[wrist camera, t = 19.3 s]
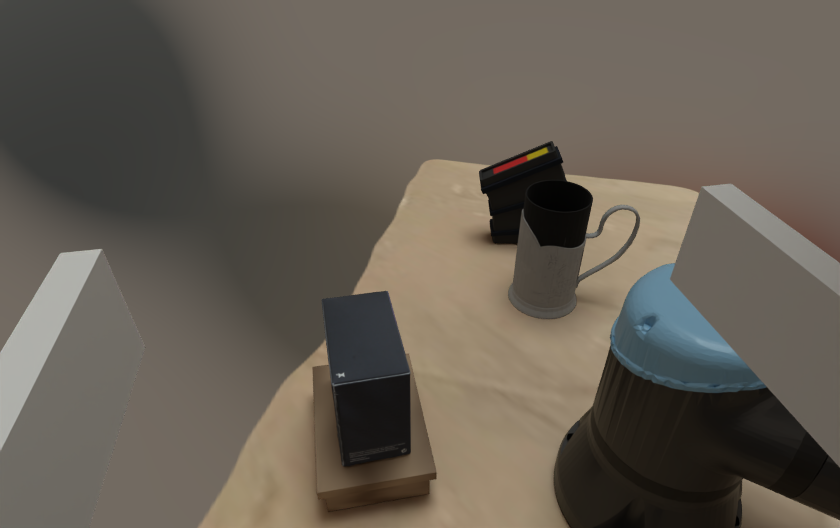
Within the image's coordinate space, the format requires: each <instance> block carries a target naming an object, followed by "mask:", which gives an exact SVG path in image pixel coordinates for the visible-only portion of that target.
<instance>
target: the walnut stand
mask: <svg viewBox="0 0 840 528" xmlns="http://www.w3.org/2000/svg"><path fill="white" fill-rule="evenodd" d="M406 358H407V361H408V365H409V368H410V373H411V374H410V394H411V453H410V454H406V455H402V456H398V457H394V458H386V459H381V460H376V461H370V462H365V463H361V464H355V465H352V466H346V467H344V466H342V462H341V454H340V447H339V441H338V436H337V434H338V432H337V427H336V425H337V424H336V416H335V408H334V400H333V394H332V386H331V378H330V369H329V365H324V366H316V367H313V392H314V420H315V449H316V477H317V495H318V499H326V504H327V508H328V512H330V511H335V510H341V509H346V508H352V507H358V506H363V505H369V504H374V503H380V502H385V501H391V500H397V499H402V498H408V497H413V496H419V495H424V494H429V480H433V479H436V468H435V464H434V460H433V455H432V451H431V447H430V442H429V438H428V434H427V430H426V425H425V421H424V417H423V412H422V408H421V404H420V400H419V395H418V391H417V387H416V382H415V378H414V374H413V370H412V365H411V361H410V357H409V354H406Z"/></svg>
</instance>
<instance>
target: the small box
mask: <svg viewBox="0 0 840 528" xmlns="http://www.w3.org/2000/svg"><path fill="white" fill-rule="evenodd" d="M322 308H323V318H324V326H325V335H326V345H327V353H328V361H329V369H330V378H331V386H332V394H333V400H334V408H335V416H336V424H337V425H336V427H337V432H338V434H337V436H338V441H339V447H340V454H341V462H342V466H344V467H346V466H352V465H355V464H361V463H365V462H370V461H376V460H381V459H386V458H394V457H398V456H402V455H406V454H410V453H411V394H410V374H411V373H410V368H409V365H408V361H407V358H406V354H405V351H404V347H403V344H402V340H401V337H400V333H399V330H398V326H397V322H396V319H395V315H394V312H393V308H392V304H391V301H390V297H389V293H388V291H382V292H373V293H365V294H358V295H351V296H343V297H335V298H326V299H322Z"/></svg>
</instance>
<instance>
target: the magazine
mask: <svg viewBox="0 0 840 528" xmlns="http://www.w3.org/2000/svg"><path fill="white" fill-rule="evenodd" d="M561 163H563V160H562V157H561V155H560V152H559V150H558V147H557V146H556V147H555V146H554V144H553V142H552V141H551V142H548V143H545V144H543V145H541V146H538V147H536V148H533V149H531V150H528V151H526V152H523V153H521V154H519V155H516V156H514V157H511V158H509V159H506V160H504V161H501V162H499V163H496V164H494V165H492V166H489V167H487V168H484V169H482V170H480V171H479V176H480V184H481V191H482V193H483V194H485V193H486V194H487V196H488V198H489V200H488V202H489V210H490V216H492V219H490V229H491V236H492V239H493V242H494V243H518V238H519V230H520V222H521V214H522V210H523V209H524V202H525V194H526V190H527V188H528V187H529V186H530V185H532V184H534V183H536V182H539V181H544V180H562V181H567V180H566V178H565V174H564V171H563V168H562V166H561Z"/></svg>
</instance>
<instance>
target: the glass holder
mask: <svg viewBox="0 0 840 528" xmlns="http://www.w3.org/2000/svg"><path fill="white" fill-rule="evenodd" d="M592 202H593V197H592V195H591V193H590V192H589V191H588V190H587V189H585V188H584V187H582V186H580V185H578V184H575V183H572V182H568V181H562V180H544V181H539V182H536V183H534V184H532V185H530V186H529V187H528V188H527V190H526V194H525V202H524V209H523V210H522V214H521V222H520V230H519V238H518V246H517V254H516V262H515V270H514V278H513V283H512V284H511V286H510V287H509V291H508V296H509V300H510V301H511V303H512V304H513V306H514V307H515V308H517V309H518V310H519V311H521V312H522V313H524V314H527V315H529V316H532V317H536V318H541V319H555V318H560V317H563V316H565V315H567V314H569V313H570V312H572V310H573V309H574V308H575V306H576V295H575V289H576V288H577V287H578V284H579V282H580V281H582V280H583V279H585V278H586V277H588V276H590V275H592V274H594V273H595V272H597V271H599V270H601V269H603V268H604V267H606V266H608V265H609V264H611V263H613V262H614V261H616V260H617V259H619V258H620V257H621V256H622V255H623V253H624V252H625V251H626V250H627V249H628V248H629V246H630V245H631V244H632V242H633V240H634V238H635V237H636V234H637V231H638V229H639V224H640V217H639V214H638V212H637V211H636V210H635V209H634V208H633V207H631V206H628V205H618V206H614V207H612V208H610V209H609V210H608V211H607V212H606V213H605V214H604V215H603V217H602V219H601V221H600V225H599V228H598V230H597V231H596V232H595V233H590V234H587V233H586V230H587V225H588V221H589V216H590V211H591V207H592ZM622 209H624V210H630V211H632V212H634V213H635V215H636V224H635V227H634V229H633V232H632V234H631V236H630V238H629V239H628V241H627V242H626V243H625V245H624V246H623V247H622V248H621V249H620V250H619V251H618V252H617V253H616V254H615V255H614V256H612V257H611V258H610V259H608V260H606V261H605V262H603V263H602V264H600V265H598V266H596V267H594V268H592V269H590V270H589V271H587V272H585V273H583V274H582V275H580V276H579V277H578V275H579V270H580V266H581V261H582V256H583V252H584V247H585V242H586V238H595V237H597V236H599V235H600V234H601V232H602V230H603V226H604V223H605V221H606V220H607V218H608V217H609V216H610V215H611V214H612V213H614V212H616V211H618V210H622Z"/></svg>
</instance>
